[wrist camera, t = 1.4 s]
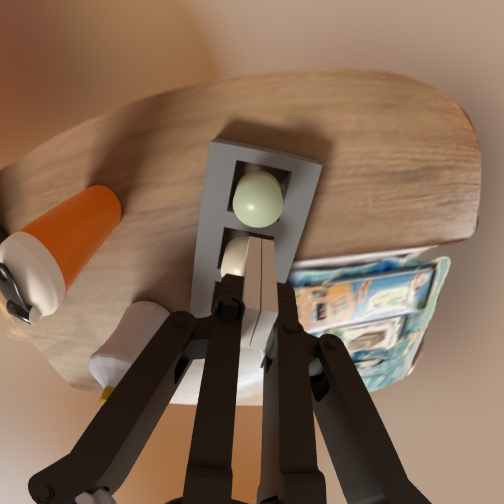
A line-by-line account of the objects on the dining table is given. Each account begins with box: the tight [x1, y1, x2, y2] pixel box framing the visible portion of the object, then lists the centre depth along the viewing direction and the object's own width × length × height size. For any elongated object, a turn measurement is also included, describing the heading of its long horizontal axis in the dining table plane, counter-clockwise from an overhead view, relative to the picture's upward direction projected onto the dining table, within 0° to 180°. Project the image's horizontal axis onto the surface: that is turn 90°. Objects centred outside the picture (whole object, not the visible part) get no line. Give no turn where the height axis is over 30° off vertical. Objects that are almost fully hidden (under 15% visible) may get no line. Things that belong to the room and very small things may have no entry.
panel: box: [190, 138, 323, 318], centre depth 35 cm, size 12×25×3 cm, turn 168°
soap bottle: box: [88, 301, 170, 406], centre depth 34 cm, size 13×13×25 cm
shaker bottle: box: [0, 185, 122, 325], centre depth 25 cm, size 9×9×20 cm
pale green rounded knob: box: [233, 170, 283, 228], centre depth 28 cm, size 5×5×4 cm
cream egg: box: [221, 236, 249, 277], centre depth 32 cm, size 5×5×4 cm
